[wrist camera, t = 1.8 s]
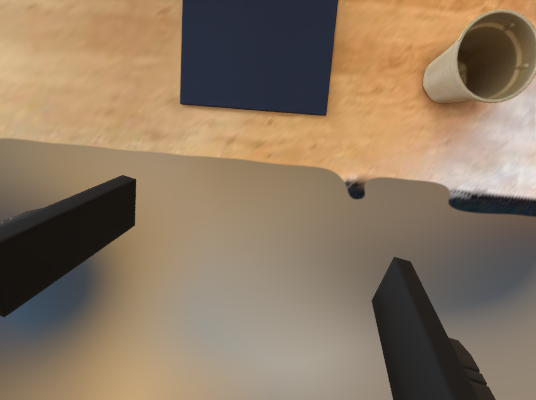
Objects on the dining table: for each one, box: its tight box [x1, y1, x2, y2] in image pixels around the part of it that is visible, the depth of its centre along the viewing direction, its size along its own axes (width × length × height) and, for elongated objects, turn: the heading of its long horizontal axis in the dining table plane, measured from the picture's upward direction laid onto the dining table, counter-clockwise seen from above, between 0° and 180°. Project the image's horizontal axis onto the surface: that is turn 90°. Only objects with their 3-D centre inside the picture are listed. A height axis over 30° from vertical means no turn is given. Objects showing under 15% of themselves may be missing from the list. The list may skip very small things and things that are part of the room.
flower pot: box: [423, 9, 536, 103], centre depth 33 cm, size 9×9×9 cm
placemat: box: [180, 0, 338, 116], centre depth 36 cm, size 20×20×1 cm
